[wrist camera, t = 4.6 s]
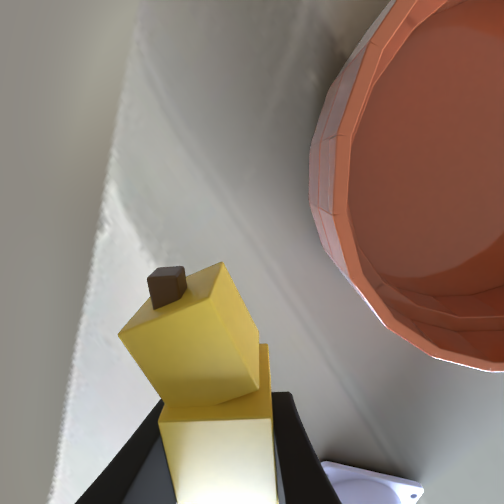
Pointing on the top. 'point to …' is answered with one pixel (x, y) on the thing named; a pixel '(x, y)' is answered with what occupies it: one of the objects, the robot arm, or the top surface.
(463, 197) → the bowl
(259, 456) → the yellow banana
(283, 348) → the top surface
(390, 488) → the robot arm
